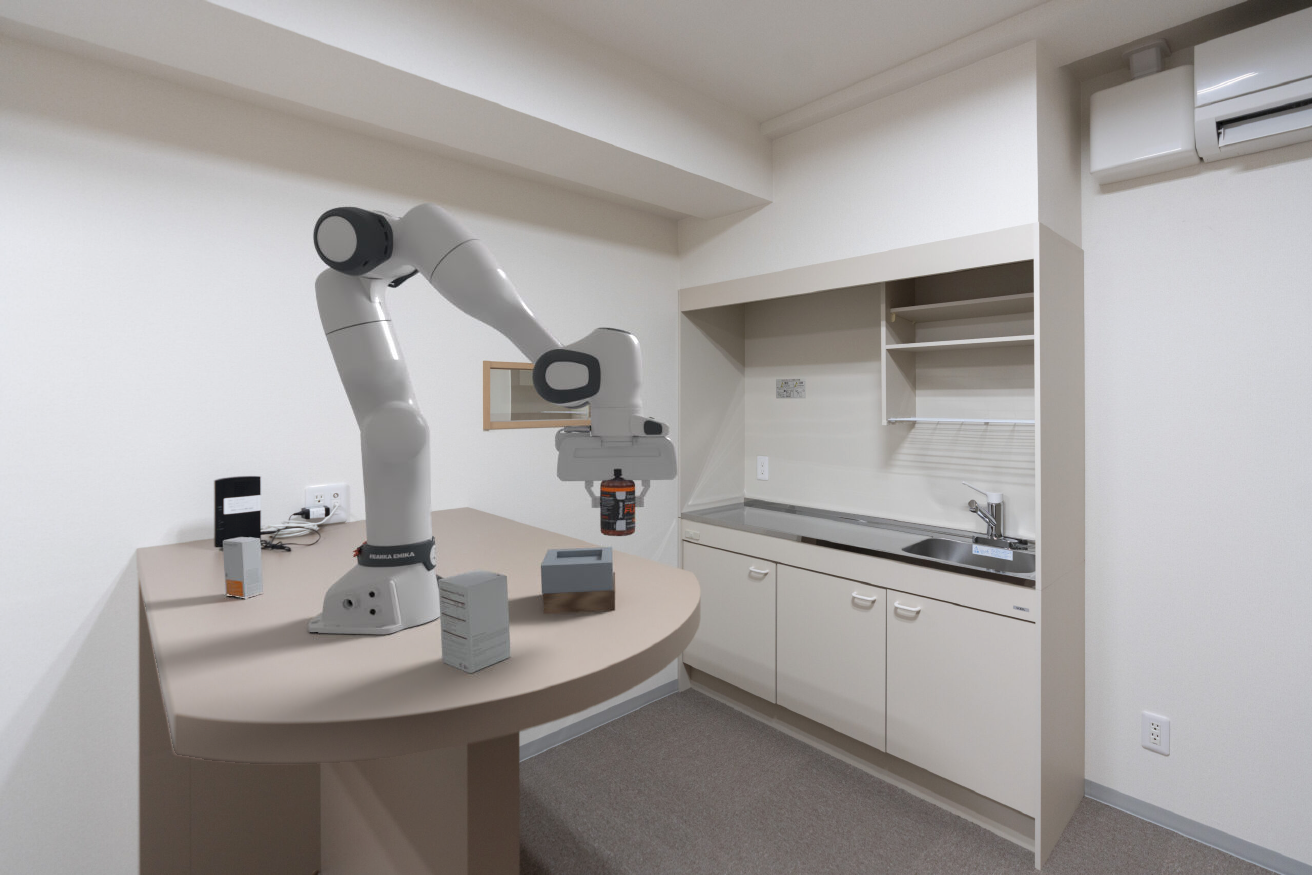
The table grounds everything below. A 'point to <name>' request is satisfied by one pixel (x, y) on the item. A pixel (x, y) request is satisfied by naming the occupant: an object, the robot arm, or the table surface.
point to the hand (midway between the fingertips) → (617, 507)
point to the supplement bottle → (617, 506)
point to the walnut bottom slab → (580, 601)
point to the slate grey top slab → (577, 570)
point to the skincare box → (243, 566)
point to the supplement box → (474, 619)
